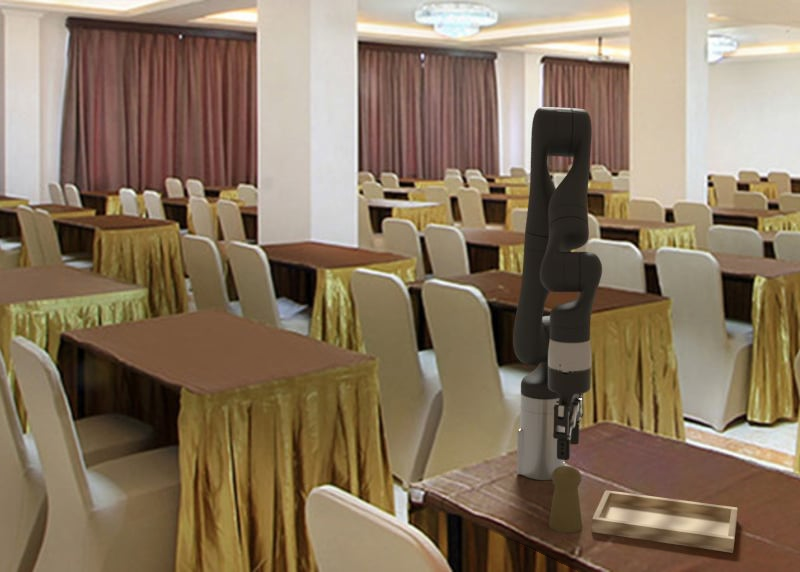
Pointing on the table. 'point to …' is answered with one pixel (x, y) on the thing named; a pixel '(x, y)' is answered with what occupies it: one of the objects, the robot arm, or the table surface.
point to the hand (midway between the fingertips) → (568, 451)
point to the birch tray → (666, 520)
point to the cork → (565, 500)
